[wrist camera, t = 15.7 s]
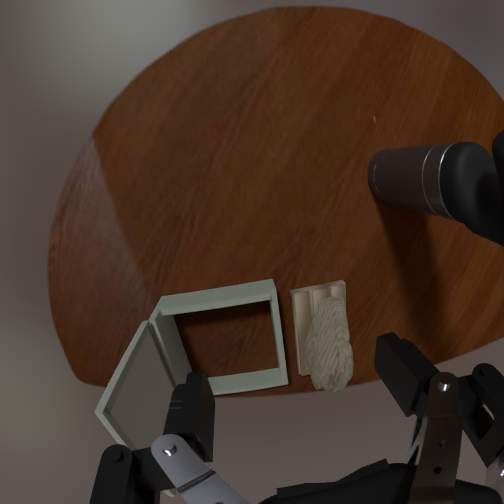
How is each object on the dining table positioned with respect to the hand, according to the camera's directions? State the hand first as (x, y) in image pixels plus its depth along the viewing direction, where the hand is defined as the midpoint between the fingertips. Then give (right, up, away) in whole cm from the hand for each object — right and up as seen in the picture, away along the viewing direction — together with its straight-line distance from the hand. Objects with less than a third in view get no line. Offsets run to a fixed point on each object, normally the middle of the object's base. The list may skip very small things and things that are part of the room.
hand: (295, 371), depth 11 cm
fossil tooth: (+10, -8, +32) cm, 35 cm away
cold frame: (-6, -9, +33) cm, 35 cm away
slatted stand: (+10, -8, +34) cm, 36 cm away
